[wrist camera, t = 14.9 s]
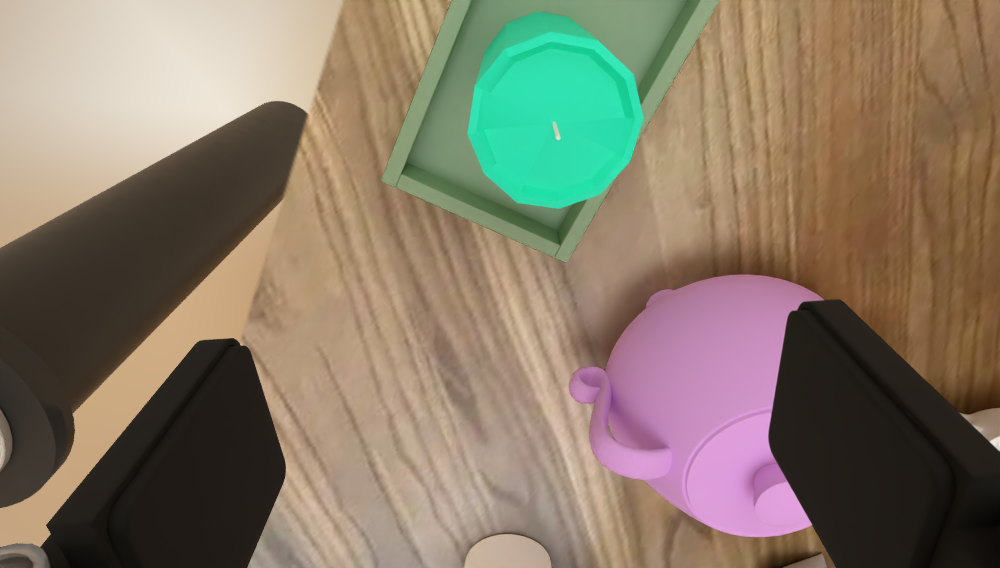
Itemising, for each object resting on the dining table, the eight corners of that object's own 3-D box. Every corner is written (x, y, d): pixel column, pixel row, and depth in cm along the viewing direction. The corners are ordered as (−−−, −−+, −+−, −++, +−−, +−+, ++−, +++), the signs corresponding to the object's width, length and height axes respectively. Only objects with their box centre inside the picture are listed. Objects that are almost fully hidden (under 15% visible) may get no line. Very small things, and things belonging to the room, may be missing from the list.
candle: (559, -18, 28) (590, -10, 17) (624, 92, 30) (687, 160, 19) (455, 62, 29) (425, 114, 19) (524, 160, 32) (532, 257, 21)
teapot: (919, 252, 35) (1111, 386, 24) (848, 441, 41) (972, 614, 30) (571, 243, 35) (601, 373, 24) (555, 433, 41) (573, 604, 30)
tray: (389, 165, 33) (380, 181, 30) (515, -153, 26) (516, -166, 24) (562, 242, 35) (566, 263, 32) (720, -35, 28) (741, -35, 26)
